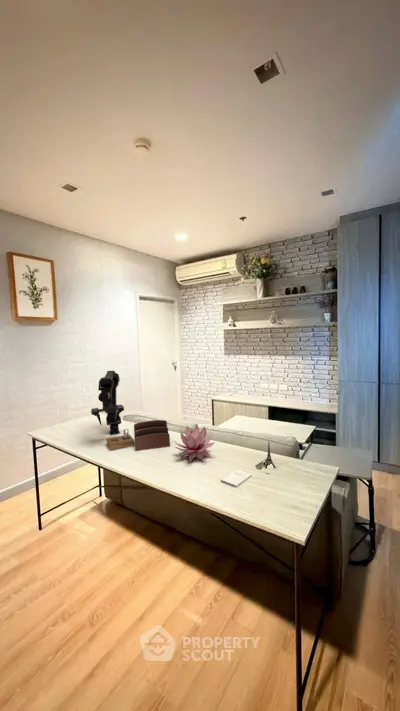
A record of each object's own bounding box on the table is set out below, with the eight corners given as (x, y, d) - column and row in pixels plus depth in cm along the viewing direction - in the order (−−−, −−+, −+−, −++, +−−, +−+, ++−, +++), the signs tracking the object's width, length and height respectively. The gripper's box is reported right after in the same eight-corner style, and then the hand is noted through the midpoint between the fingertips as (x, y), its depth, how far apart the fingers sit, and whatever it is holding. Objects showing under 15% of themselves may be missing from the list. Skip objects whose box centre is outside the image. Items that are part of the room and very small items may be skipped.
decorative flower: (188, 446, 172) (187, 420, 171) (221, 452, 161) (220, 425, 160) (165, 460, 154) (164, 432, 153) (201, 468, 143) (200, 438, 142)
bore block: (106, 444, 180) (106, 438, 180) (129, 439, 187) (129, 434, 186) (110, 450, 170) (109, 444, 169) (134, 445, 176) (134, 440, 176)
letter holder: (134, 445, 178) (133, 422, 177) (167, 440, 183) (166, 418, 182) (135, 451, 168) (134, 427, 167) (170, 446, 173) (169, 423, 172)
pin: (123, 442, 180) (122, 429, 180) (128, 441, 182) (127, 429, 181) (124, 444, 178) (123, 431, 177) (129, 443, 179) (128, 430, 178)
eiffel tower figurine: (267, 458, 153) (267, 433, 152) (285, 464, 146) (285, 438, 145) (250, 469, 142) (250, 442, 141) (269, 475, 135) (269, 447, 134)
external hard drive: (220, 483, 130) (236, 472, 139) (236, 489, 125) (251, 477, 134) (220, 479, 130) (236, 468, 139) (236, 485, 125) (251, 473, 134)
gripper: (92, 403, 170) (94, 429, 171) (125, 398, 178) (126, 424, 179) (90, 399, 180) (91, 424, 181) (121, 395, 188) (122, 419, 189)
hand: (108, 423), depth 182 cm, fingers open, 9 cm apart
